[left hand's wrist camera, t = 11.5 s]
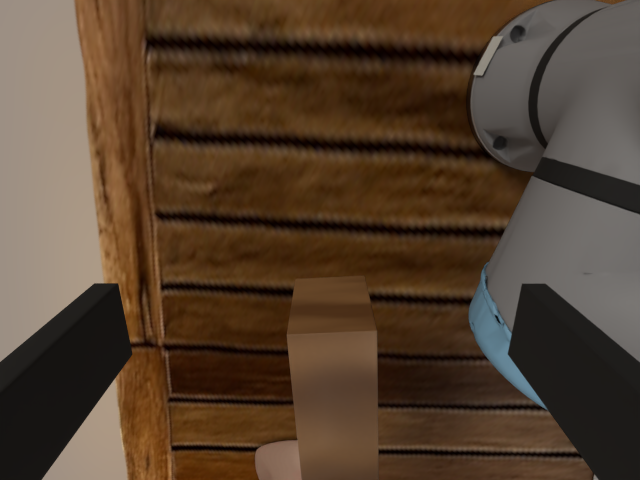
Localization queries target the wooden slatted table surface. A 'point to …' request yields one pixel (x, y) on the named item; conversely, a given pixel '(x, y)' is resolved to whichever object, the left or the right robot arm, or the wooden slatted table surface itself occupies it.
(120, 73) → the wooden slatted table surface
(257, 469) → the anatomical model
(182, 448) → the wooden slatted table surface
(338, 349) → the bar
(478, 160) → the wooden slatted table surface
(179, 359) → the wooden slatted table surface
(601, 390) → the left robot arm
